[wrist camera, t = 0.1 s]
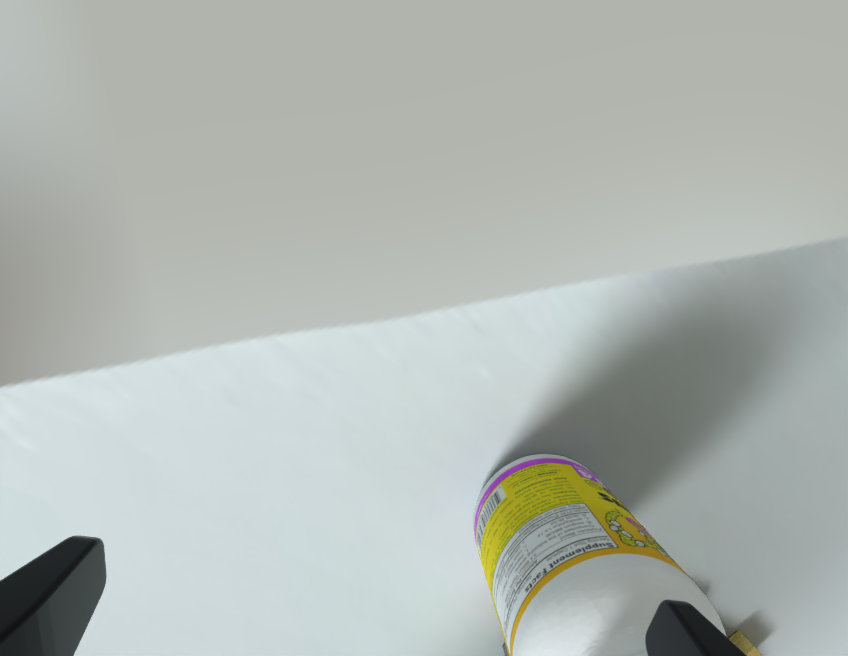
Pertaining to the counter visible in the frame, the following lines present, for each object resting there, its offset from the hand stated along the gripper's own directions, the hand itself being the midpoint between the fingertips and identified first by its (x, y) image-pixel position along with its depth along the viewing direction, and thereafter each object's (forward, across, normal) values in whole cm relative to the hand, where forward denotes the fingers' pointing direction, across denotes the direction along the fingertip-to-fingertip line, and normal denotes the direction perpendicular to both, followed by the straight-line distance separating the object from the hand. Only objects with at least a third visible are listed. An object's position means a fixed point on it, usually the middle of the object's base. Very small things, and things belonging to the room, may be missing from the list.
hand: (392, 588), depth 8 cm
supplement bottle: (+14, -8, +10) cm, 19 cm away
